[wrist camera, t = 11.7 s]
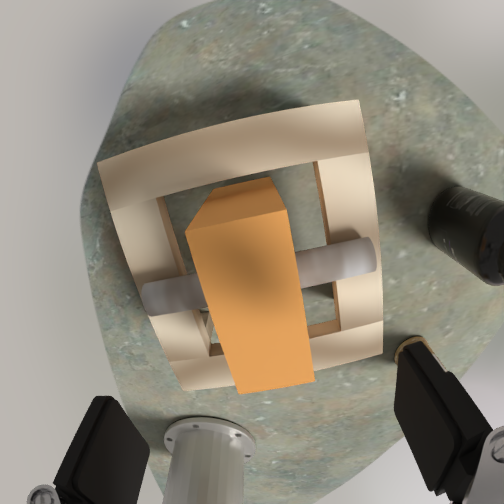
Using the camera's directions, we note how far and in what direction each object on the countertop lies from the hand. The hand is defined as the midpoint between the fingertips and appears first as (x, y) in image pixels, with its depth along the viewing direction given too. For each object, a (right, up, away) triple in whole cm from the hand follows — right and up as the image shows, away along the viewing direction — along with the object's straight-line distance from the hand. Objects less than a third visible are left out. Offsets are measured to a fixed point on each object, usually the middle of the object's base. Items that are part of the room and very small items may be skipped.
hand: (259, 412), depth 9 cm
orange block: (0, +6, +14) cm, 15 cm away
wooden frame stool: (0, +7, +18) cm, 19 cm away
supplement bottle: (+20, +8, +17) cm, 28 cm away
